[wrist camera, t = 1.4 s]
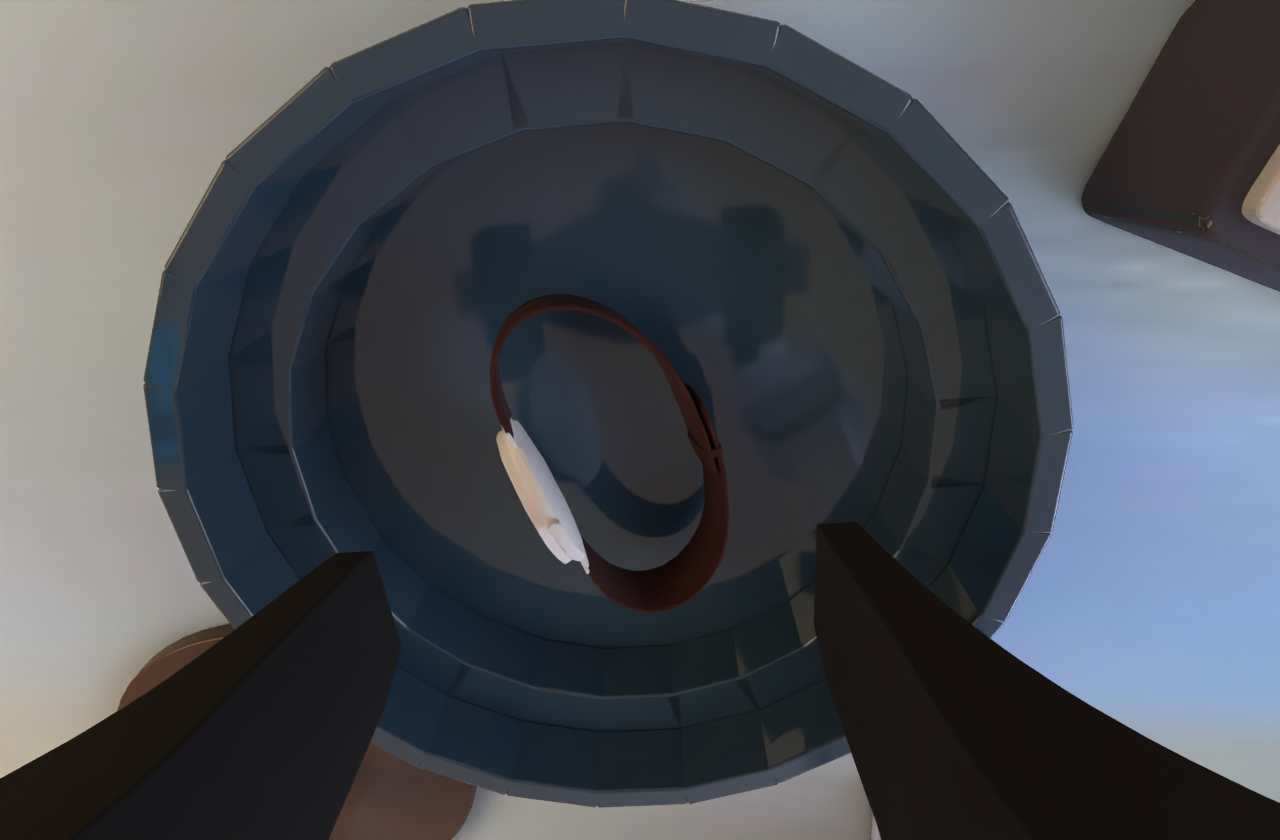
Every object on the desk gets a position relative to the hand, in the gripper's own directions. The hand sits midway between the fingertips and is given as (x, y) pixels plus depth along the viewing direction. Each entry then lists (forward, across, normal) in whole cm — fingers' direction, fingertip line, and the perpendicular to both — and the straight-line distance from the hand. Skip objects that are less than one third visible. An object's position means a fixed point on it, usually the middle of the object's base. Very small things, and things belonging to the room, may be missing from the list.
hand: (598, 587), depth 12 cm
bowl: (+6, 0, 0) cm, 6 cm away
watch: (+6, 0, 0) cm, 6 cm away
